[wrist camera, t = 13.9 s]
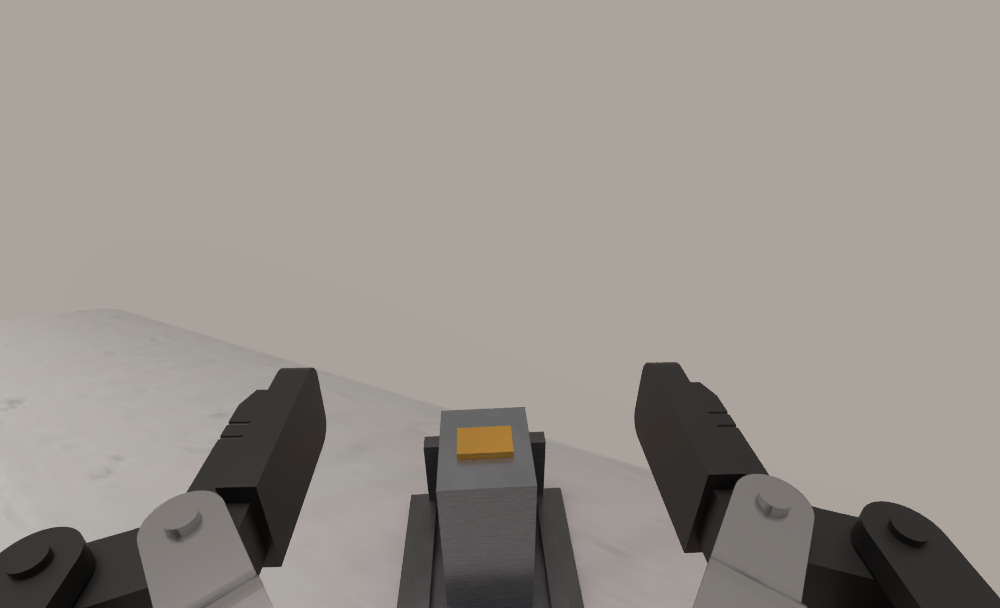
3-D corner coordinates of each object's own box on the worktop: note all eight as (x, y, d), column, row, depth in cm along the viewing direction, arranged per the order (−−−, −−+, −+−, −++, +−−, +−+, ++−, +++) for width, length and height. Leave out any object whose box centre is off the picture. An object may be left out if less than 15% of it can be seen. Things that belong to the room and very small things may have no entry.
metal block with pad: (532, 606, 30) (537, 480, 25) (447, 611, 30) (435, 485, 25) (522, 520, 35) (524, 401, 30) (450, 524, 35) (440, 405, 30)
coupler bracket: (590, 650, 28) (600, 577, 25) (391, 662, 28) (376, 589, 25) (560, 492, 38) (564, 425, 35) (412, 499, 37) (403, 432, 34)
